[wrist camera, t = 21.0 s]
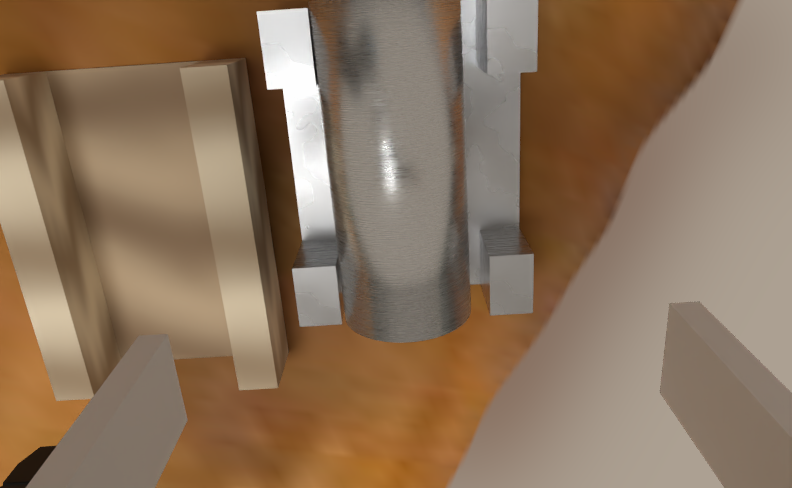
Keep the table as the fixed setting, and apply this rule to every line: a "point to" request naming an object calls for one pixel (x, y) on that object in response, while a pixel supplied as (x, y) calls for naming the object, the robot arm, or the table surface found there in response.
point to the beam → (140, 218)
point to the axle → (396, 162)
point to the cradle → (484, 139)
